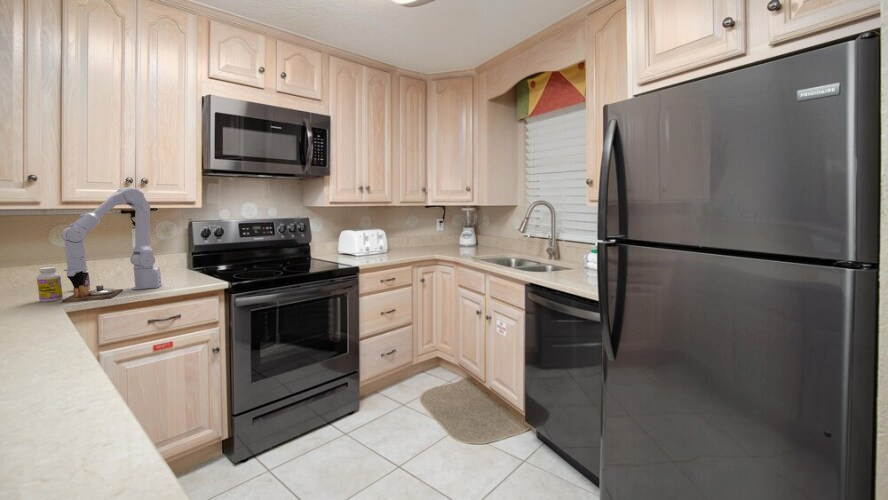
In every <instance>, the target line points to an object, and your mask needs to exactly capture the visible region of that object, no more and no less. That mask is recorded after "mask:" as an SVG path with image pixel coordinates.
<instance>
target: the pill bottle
mask: <svg viewBox="0 0 888 500" xmlns="http://www.w3.org/2000/svg"><path fill="white" fill-rule="evenodd" d="M83 272H87V271H83ZM90 282H91V281H90V273H89V272H88V276H87V278H86V281H85V286H84V287H86V286H87V287H88V289H89V290H91V283H90Z"/></svg>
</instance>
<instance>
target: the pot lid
mask: <svg viewBox="0 0 888 500" xmlns="http://www.w3.org/2000/svg"><path fill="white" fill-rule="evenodd" d="M95 287H96V288H95V289H88V287H87V286H86V287H84V292H85V296H94V295H104V294H110V293H113V292H115V291H114V289H115V288H111V287H109V288H108V287H107V288H104V284H101V285H96V286H95ZM72 289H73V294H74V297H80V290H79V288H74V287H73V288H72Z"/></svg>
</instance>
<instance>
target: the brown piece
mask: <svg viewBox="0 0 888 500" xmlns="http://www.w3.org/2000/svg"><path fill="white" fill-rule="evenodd" d="M113 289H114V291H115V292H113V293H110V294H104V295H94V296H85V292H84V286H79V290H80V297H74V293H73V294H71V295H70V296H68V297H66V298H64V299H63V298H62V299H61V301H62V303H72V302H74V303H75V302H85V301H96V300H97V301H98V300H108V299H110V300H111V299H113V298H114V297H116V296H118V295H119V294H120V293H122V292H124V291H123V290H124V289H123V288H113Z"/></svg>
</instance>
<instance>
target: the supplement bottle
mask: <svg viewBox="0 0 888 500" xmlns="http://www.w3.org/2000/svg"><path fill="white" fill-rule="evenodd" d="M39 273H40V274H39V275H37V276H36V282H37V291H38V292H37V293H38V300H39V302H42V303H46V302H47V303H49V302H56V301H60V300H61V301H62V300H63V296H64V295H63V288H62V276H61V274H59V273H57V267H56V266H47V267H40V268H39Z"/></svg>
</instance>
